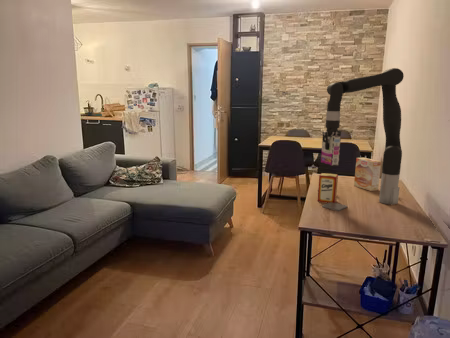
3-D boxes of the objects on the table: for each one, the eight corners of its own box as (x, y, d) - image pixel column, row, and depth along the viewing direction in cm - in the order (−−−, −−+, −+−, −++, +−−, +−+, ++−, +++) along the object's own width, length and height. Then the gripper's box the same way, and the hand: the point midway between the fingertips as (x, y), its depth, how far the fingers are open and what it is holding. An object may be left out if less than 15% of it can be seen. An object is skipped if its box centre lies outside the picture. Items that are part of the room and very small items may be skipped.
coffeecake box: (353, 185, 241) (355, 157, 237) (361, 184, 244) (363, 157, 240) (370, 191, 228) (373, 161, 224) (378, 190, 231) (381, 160, 227)
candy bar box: (339, 165, 197) (341, 136, 194) (331, 166, 196) (333, 136, 192) (327, 161, 207) (329, 134, 204) (320, 162, 206) (322, 134, 203)
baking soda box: (317, 201, 205) (319, 174, 202) (319, 198, 211) (321, 172, 208) (334, 203, 201) (336, 176, 198) (336, 200, 207) (338, 174, 204)
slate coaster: (347, 207, 195) (347, 205, 195) (339, 211, 188) (339, 209, 188) (330, 203, 202) (330, 201, 201) (322, 207, 195) (322, 205, 194)
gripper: (330, 120, 189) (328, 151, 193) (346, 119, 197) (344, 149, 201) (319, 119, 195) (317, 149, 198) (335, 118, 203) (333, 147, 207)
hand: (330, 149), depth 200 cm, fingers closed on candy bar box, 6 cm apart
